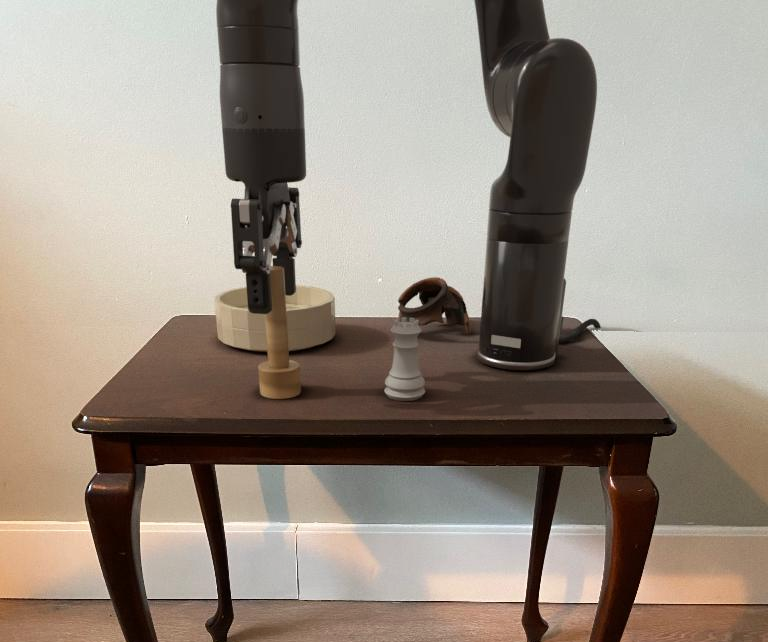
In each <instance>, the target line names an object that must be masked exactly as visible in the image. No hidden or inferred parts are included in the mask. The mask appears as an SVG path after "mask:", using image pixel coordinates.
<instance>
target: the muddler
mask: <svg viewBox="0 0 768 642" xmlns="http://www.w3.org/2000/svg"><path fill="white" fill-rule="evenodd" d="M270 279H271V297H272V310H271V312H269V313H268V314H265V322H266V337H267V351H268V352H267V360H265V361H263V362H260V363H259V364H258V365H257V370H258V372H257V373H258V383H259V394H260V395H261V396H262V397H264V398H266V399H272V400H285V399H290V398H295V397H298V396H299V395H300V394H301V392H302V386H301V385H302V381H301V366H300V363H299V362H297V361H295V360H291V359H290V354H289V353H290V351H289V350H288V332H287V314H286V296H285V278H284V268H283V267H280V266H273V265H271V269H270Z"/></svg>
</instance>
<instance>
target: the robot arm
mask: <svg viewBox="0 0 768 642" xmlns="http://www.w3.org/2000/svg"><path fill="white" fill-rule="evenodd" d="M473 2H474V8H475V9H474V10H475V17H476V24H477V33H478V42H479V51H480V52H479V53H480V59H481V60H480V61H481V70H482V82H483V90H484V98H485V102H486V107H487V111H488V113H489V116H490V118H491V121H492V122H493V123H494V125H495V127H496V128H497V130H498V131H499V132H501V133H502V134H503V135H504V136H506V137H507V138H510V139H509V147H508V152H507V159H506V163H505V166H504V168H503V171H501V174H500V175H499V176H498V177H497V178H496V179H495V180H493V182H492V184H491V186H490V191H489V201H488V214H487V215H488V216H487V228H486V229H487V230H486V241H485V242H486V244H485V257H484V273H483V283H482V300H481V312H480V313H481V315H480V325H479V326H480V327H479V328H480V329H479V342H478V348H477V355H476V356H477V357H476V358H477V359H478V361H479V362H480V363H482V364H484V365H487V366H489V367H493V368H496V369H502V370H510V371H537V370H543V369H545V368H549V367H551V366H552V365H554V364H555V361H556V358H557V357H558V351H559V345H562V344H565V343H568V342H570V341H572V340H575V339H576V338H577V337H579V334H581V332H582V331H584V330H585V329H587V328H588V327H591V326H593V328H595V329H601V328H602V326H601V323H600V322H599V320H597V319H596V318H589V319H586V320H585V321H583V322H582V323H581V324H580V325H578V326H576V327H575V328H574V329H573V330H572V332H571V333H568V334H566V335H564V336H560V335H562V331H563V323H564V316H563V310H564V304H565V303H564V302H565V295H566V286H567V280H566V278H565V272H566V265H567V257H568V249H569V240H570V239H569V238H570V231H571V223H572V216H573V208H574V201H575V197H576V194H577V192H578V190H579V188H580V186H581V185H582V182H583V180H584V176H585V172H586V169H587V168H586V167H587V162H588V157H589V156H588V155H589V150H590V145H591V139H592V133H593V127H594V123H595V121H594V120H595V114H596V109H597V97H598V77H597V70H596V67H595V63H594V60H593V58H592V56H591V54H590V53H589V51H588V50H587V49H586V48H585V46H584V45H582V44H581V43H580V42H578V41H576V40H574V39H570V38H564V37H557V38H551V37H550V34H549V28H548V23H547V18H546V12H545V7H544V0H473ZM298 4H299V0H216V6H215V7H216V8H215V9H216V11H215V13H216V14H215V15H216V28H217V30H216V31H217V41H218V42H217V43H218V44H217V45H218V54H219V55H218V56H219V64H220V65H219V72H220V73H219V105H220V106H219V108H220V118H221V129H222V130H221V131H222V133H221V134H222V145H223V156H224V165H225V166H224V170H225V176H226V177H227V179H228V180H230V181H232V182H236V183H237V182H238V183H241V182H242V184H243V185H244V197H243V198H232V199H231V200H230V211H231V212H230V213H231V231H232V232H231V233H232V247H233V249H232V251H233V264H234V268H235V270H241V271H242V273H243V274H245V285H246V286H245V287H247V301H248V310H249V311H250V312H251V313H254V314H268V313H269V312H271V310H272V297H271V279H270V269H271V266H280V267H283V268H284V278H285V295H287V296H291V295H293V294H294V293H295V292H296V285H297V283H296V281H297V280H296V261H295V260H296V259H295V258H296V257H297V256H298V253H299V250H298V249H301V247H302V245H303V240H302V227H301V208H300V207H301V206H300V191H299V188H298V187H291V186H289V185H288V183H298V182H302V181H304V180H305V178H306V177H307V155H306V154H307V153H306V129H305V127H306V126H305V125H306V124H305V99H304V98H305V97H304V87H303V81H302V75H301V67H300V66H301V59H300V58H301V57H300V56H301V55H300V29H299V27H300V26H299V17H298V15H299V14H298V7H299V5H298Z"/></svg>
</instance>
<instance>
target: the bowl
mask: <svg viewBox="0 0 768 642" xmlns="http://www.w3.org/2000/svg"><path fill="white" fill-rule="evenodd" d="M285 296H286V314H287V332H288V350H289V352H295V351H300V350H301V351H302V350H306V349H310V348H313V347H316V346H320V345H323V344H325V343H327V342H329V341H331V340H333V338H334V337H335V336H336V333H337V331H336V298H335V295H334V293H333V292H331V291H329V290H327V289H324V288H321V287H315V286H311V285H310V286H309V285H301V284H296V292H295V293H294V294H293V295H291V296H287V295H285ZM213 302H214V312H215V322H216V329H217V331H216V332H217V338H218V340H219V341H220V342H222V343H223V344H225V345H228V346H230V347H233V348H237V349H242V350H244V351H245V350H246V351H250V352H260V353H261V352H262V353H268V351H267V337H266V322H265V314H254V313H251V312H250V311H249V310H248V301H247V287H246V286H243V287H237V288H232V289H228V290H226V291H222V292H220V293H218V294H217V295H215V296H214V301H213Z"/></svg>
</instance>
